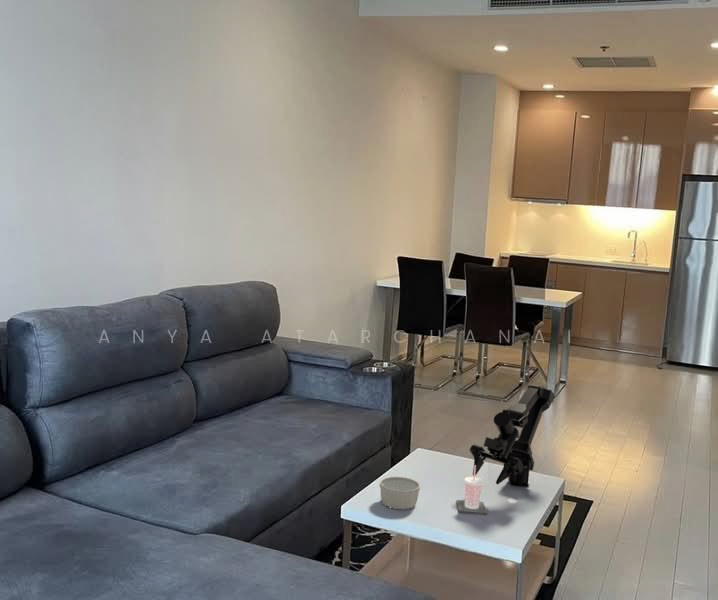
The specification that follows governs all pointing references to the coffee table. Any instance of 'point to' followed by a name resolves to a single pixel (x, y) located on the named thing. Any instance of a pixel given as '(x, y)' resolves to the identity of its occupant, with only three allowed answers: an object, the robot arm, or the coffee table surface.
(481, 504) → the coaster
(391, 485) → the ramekin
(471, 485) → the beverage cup
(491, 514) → the coffee table surface
